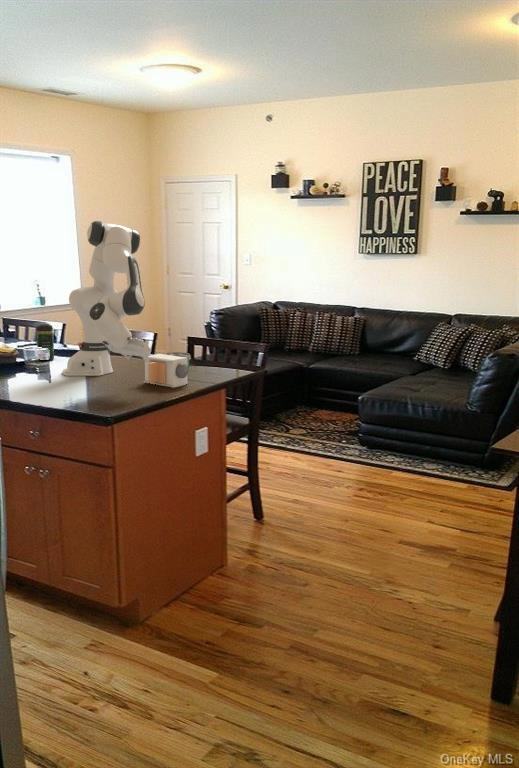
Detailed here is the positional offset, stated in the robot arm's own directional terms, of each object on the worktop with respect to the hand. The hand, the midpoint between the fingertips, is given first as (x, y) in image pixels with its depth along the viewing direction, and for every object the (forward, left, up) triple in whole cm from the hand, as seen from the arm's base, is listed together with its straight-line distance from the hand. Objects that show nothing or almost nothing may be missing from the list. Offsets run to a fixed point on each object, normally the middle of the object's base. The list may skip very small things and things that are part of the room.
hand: (138, 358), depth 260 cm
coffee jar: (-35, +83, -13) cm, 91 cm away
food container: (+23, +28, -13) cm, 38 cm away
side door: (+7, +5, -11) cm, 14 cm away
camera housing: (+13, +10, -13) cm, 20 cm away
